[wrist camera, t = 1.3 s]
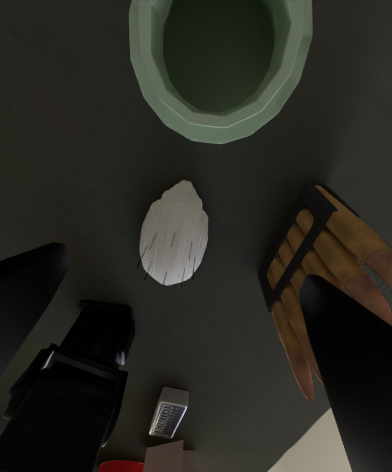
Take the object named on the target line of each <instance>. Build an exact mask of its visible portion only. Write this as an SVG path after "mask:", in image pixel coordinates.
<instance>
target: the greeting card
mask: <svg viewBox="0 0 392 472" xmlns="http://www.w3.org/2000/svg"><path fill="white" fill-rule="evenodd" d="M183 443H184V440H180V441H176V442H171V443H167V444H163V445H158V446H154V447H149V448H147V452H146V457H145V462H144V468H143V472H194V464H195V451H184V450H183Z"/></svg>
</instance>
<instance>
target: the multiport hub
mask: <svg viewBox="0 0 392 472" xmlns="http://www.w3.org/2000/svg"><path fill="white" fill-rule="evenodd" d="M187 403H188V391H185V390H180V389H175V388H170V387H163V389H162V392H161V395H160V398H159V400H158V403H157V406H156V409H155V412H154V415H153V418H152V422H151V427H150V432H149V434H150V435H154V436H159V437H164V438H172V436H173V434H174V432H175V430H176V428H177V426H178V424H179V422H180V421H181V419H182V417H183V415H184V413H185V411H186V409H187Z"/></svg>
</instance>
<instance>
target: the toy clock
mask: <svg viewBox="0 0 392 472" xmlns="http://www.w3.org/2000/svg"><path fill="white" fill-rule="evenodd" d="M143 468H144V463H141V462H135V461H127V460H113V461H107V462H104V463H102V464H101V465H100V467H99V470H98V472H143Z"/></svg>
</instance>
